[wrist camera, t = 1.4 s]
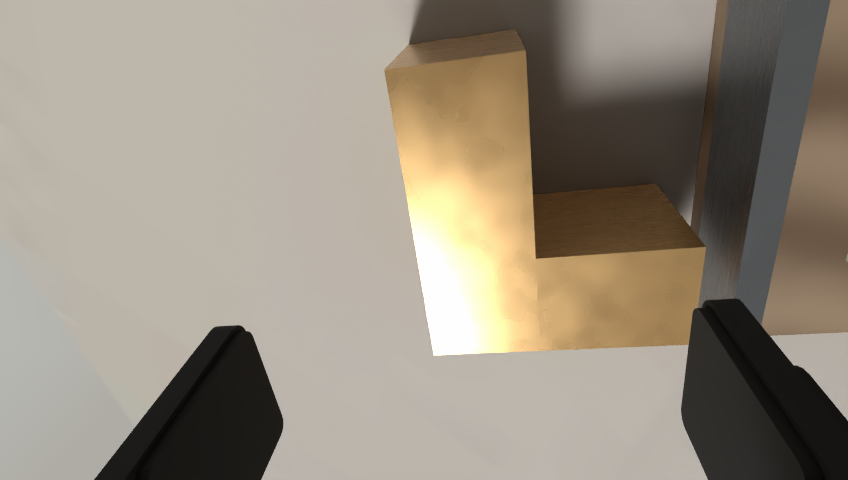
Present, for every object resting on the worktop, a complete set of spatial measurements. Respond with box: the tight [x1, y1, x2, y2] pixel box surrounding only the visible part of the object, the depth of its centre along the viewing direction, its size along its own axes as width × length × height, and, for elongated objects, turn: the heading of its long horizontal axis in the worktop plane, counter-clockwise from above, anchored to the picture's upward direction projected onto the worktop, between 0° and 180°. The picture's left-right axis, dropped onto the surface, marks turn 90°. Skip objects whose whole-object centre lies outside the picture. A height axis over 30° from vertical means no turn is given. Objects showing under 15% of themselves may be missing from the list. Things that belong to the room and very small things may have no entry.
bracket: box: [385, 29, 706, 355], centre depth 21 cm, size 12×10×6 cm
